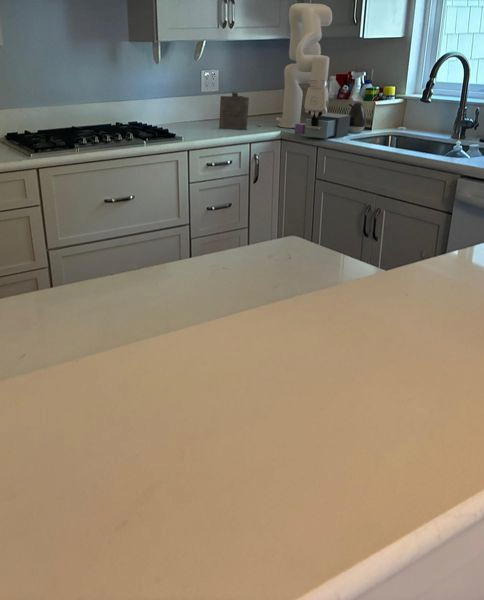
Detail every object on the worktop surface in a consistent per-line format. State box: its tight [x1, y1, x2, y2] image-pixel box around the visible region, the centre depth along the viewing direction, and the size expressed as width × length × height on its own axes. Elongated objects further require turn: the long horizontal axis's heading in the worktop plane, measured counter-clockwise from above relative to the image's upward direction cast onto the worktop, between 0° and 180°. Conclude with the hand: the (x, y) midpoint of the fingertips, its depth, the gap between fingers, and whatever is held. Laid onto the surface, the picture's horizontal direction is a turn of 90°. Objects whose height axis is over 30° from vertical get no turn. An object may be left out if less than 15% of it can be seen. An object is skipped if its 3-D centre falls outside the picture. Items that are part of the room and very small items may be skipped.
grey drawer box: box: [320, 112, 351, 139], centre depth 304 cm, size 15×13×10 cm
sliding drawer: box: [303, 117, 337, 140], centre depth 294 cm, size 18×11×8 cm, turn 144°
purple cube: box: [294, 122, 306, 135], centre depth 309 cm, size 4×4×4 cm
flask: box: [218, 91, 250, 131], centre depth 313 cm, size 4×14×18 cm, turn 81°
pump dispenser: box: [347, 101, 367, 134], centre depth 314 cm, size 10×10×15 cm
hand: (314, 125), depth 288 cm, fingers closed
